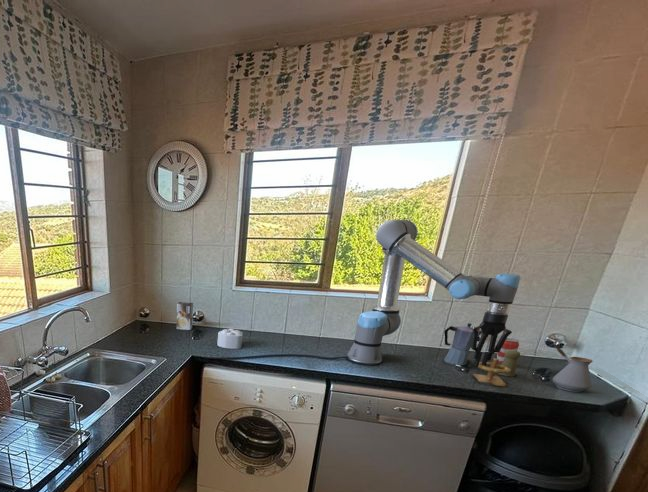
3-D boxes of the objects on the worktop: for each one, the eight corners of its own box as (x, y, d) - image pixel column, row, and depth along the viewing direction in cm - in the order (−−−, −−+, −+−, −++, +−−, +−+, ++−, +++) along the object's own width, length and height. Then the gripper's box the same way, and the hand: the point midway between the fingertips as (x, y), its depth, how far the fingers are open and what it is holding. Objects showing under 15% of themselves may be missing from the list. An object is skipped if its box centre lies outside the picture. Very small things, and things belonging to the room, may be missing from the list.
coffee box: (192, 328, 253) (193, 302, 248) (190, 330, 248) (191, 304, 242) (178, 326, 256) (179, 301, 250) (175, 329, 250) (176, 303, 245)
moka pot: (477, 368, 188) (491, 326, 181) (440, 365, 191) (452, 324, 184) (466, 361, 197) (479, 321, 190) (431, 359, 200) (443, 319, 193)
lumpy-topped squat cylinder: (240, 349, 213) (242, 333, 209) (216, 347, 216) (217, 331, 212) (241, 343, 222) (243, 328, 219) (218, 342, 225) (219, 327, 222)
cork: (514, 373, 182) (523, 350, 178) (514, 377, 177) (522, 353, 173) (497, 370, 185) (505, 347, 181) (496, 374, 181) (504, 350, 177)
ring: (481, 371, 168) (482, 367, 168) (472, 363, 178) (473, 359, 177) (514, 375, 164) (515, 372, 164) (503, 367, 174) (504, 364, 174)
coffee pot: (596, 394, 160) (613, 359, 155) (564, 393, 162) (579, 357, 156) (554, 375, 180) (567, 343, 174) (526, 374, 181) (538, 342, 176)
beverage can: (492, 362, 196) (500, 338, 192) (500, 360, 198) (508, 337, 194) (506, 366, 191) (514, 342, 186) (514, 364, 193) (523, 340, 189)
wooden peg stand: (478, 383, 171) (486, 360, 167) (472, 376, 179) (479, 354, 175) (505, 386, 168) (513, 363, 164) (497, 379, 175) (505, 357, 172)
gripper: (477, 312, 164) (460, 367, 172) (523, 316, 158) (503, 372, 167) (472, 309, 170) (456, 361, 179) (516, 312, 165) (497, 366, 173)
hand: (479, 366), depth 173 cm, fingers closed on ring, 2 cm apart
